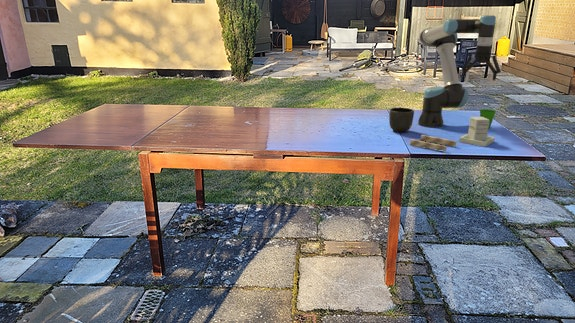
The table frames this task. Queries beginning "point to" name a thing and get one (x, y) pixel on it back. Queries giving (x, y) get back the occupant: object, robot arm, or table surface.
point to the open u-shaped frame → (432, 140)
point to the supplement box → (478, 128)
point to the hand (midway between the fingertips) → (478, 84)
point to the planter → (401, 119)
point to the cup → (487, 115)
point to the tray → (476, 142)
